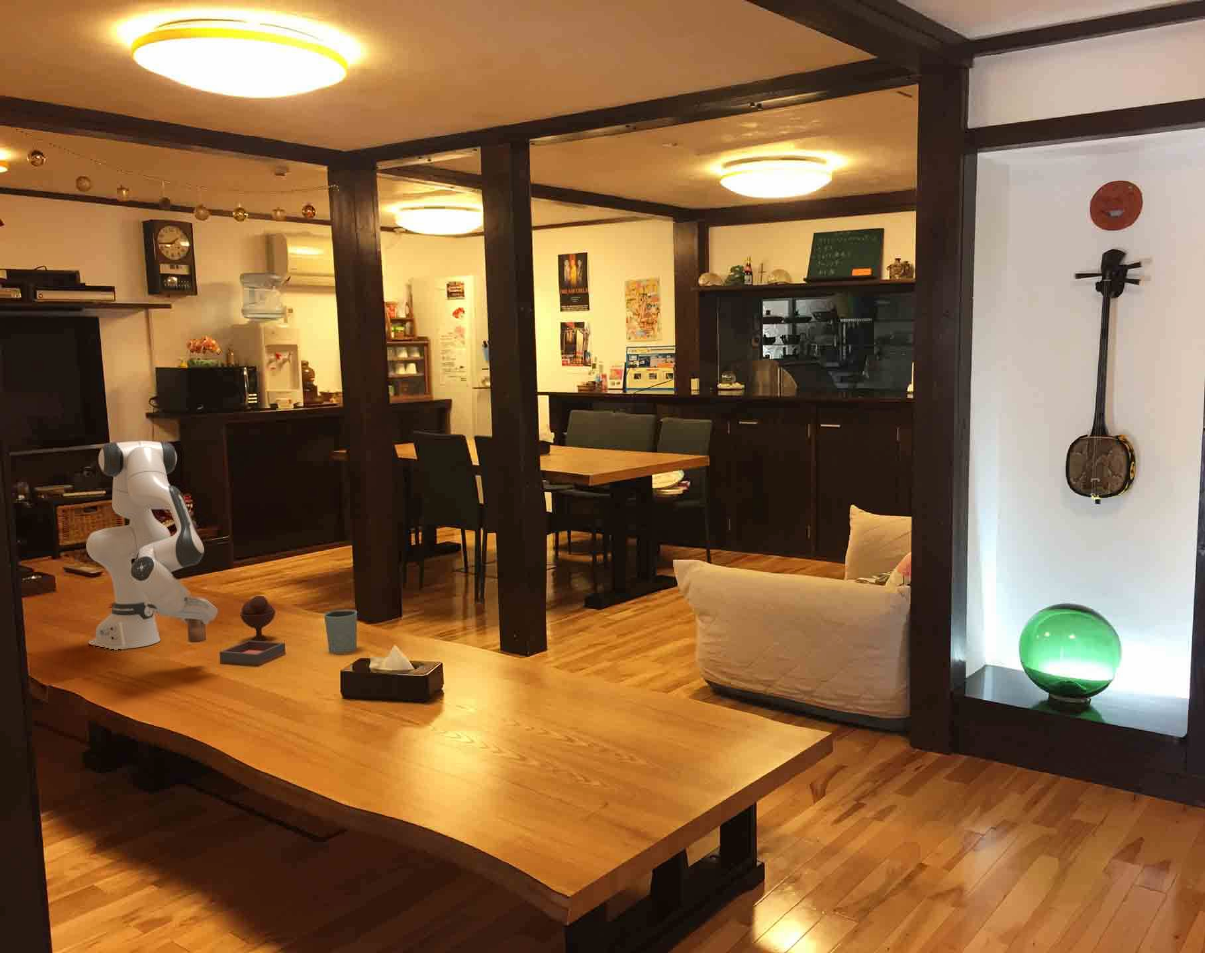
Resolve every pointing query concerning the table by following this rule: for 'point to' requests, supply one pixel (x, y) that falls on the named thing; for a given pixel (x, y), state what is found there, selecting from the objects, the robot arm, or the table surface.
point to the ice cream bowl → (257, 615)
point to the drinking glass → (341, 631)
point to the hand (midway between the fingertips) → (197, 621)
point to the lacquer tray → (252, 653)
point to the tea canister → (196, 630)
